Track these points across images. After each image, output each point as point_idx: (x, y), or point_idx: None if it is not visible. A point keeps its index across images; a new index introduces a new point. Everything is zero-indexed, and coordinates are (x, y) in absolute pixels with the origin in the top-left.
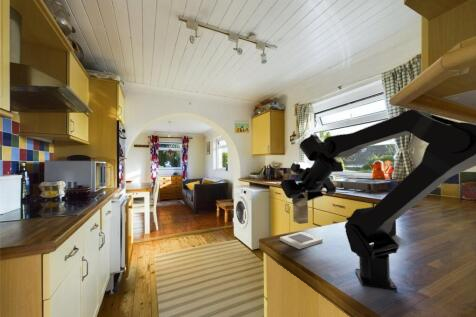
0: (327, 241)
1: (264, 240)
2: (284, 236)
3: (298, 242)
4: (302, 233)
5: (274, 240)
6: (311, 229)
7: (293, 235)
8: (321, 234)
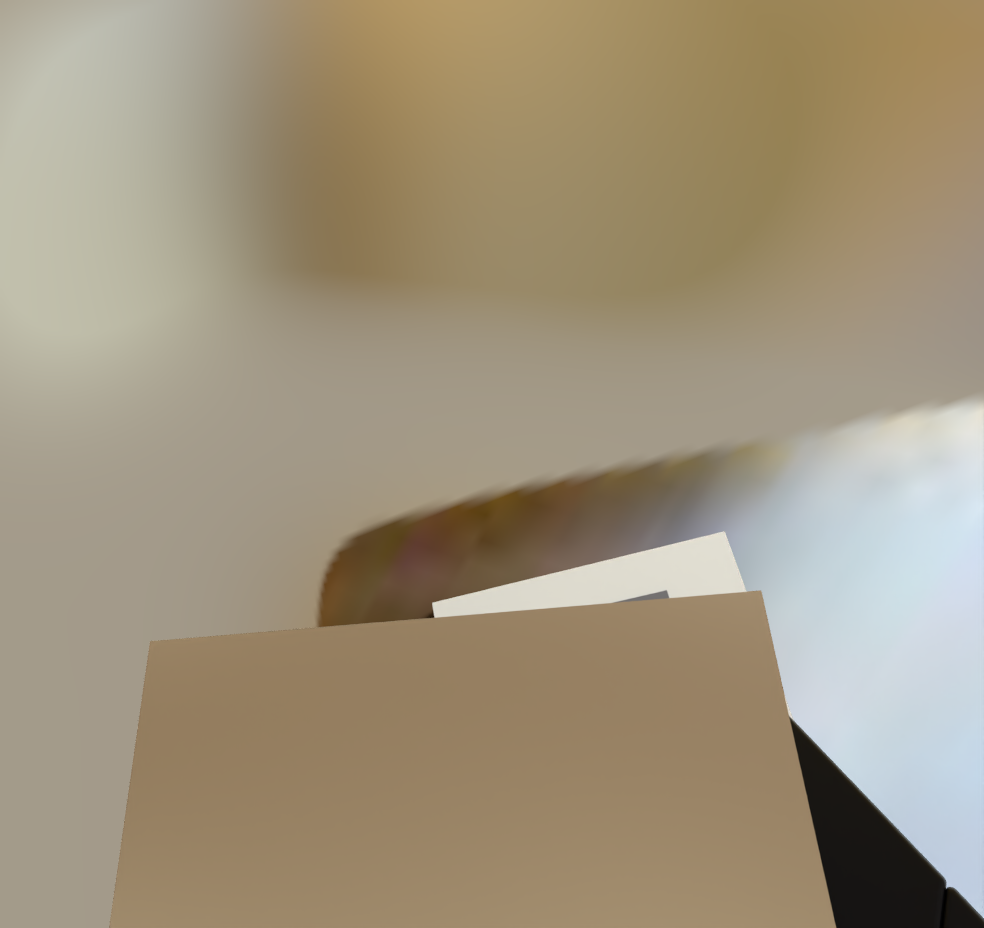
0: (894, 821)
1: (329, 566)
2: (480, 599)
3: None
4: (698, 583)
5: (398, 593)
6: (913, 429)
7: (575, 603)
8: (948, 604)
